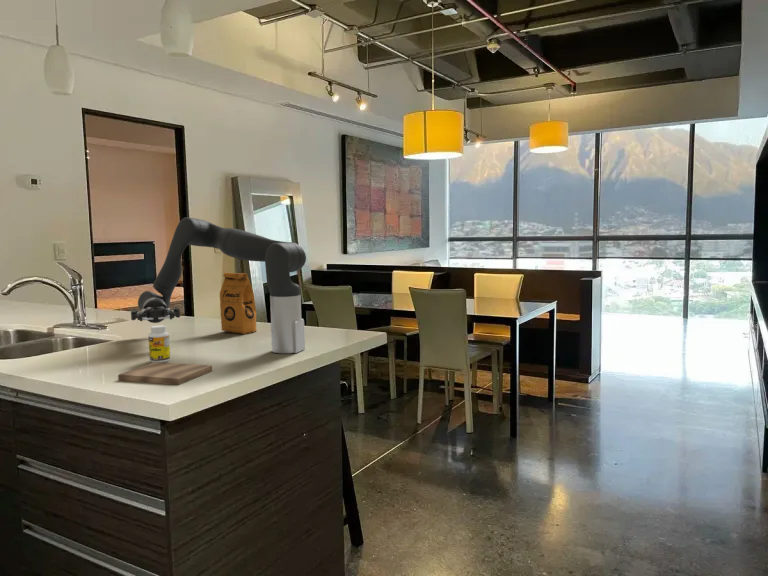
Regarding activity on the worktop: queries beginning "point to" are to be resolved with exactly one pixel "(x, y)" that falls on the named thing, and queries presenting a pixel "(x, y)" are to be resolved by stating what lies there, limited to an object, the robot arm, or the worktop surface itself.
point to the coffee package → (237, 304)
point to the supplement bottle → (159, 344)
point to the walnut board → (165, 373)
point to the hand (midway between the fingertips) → (156, 316)
